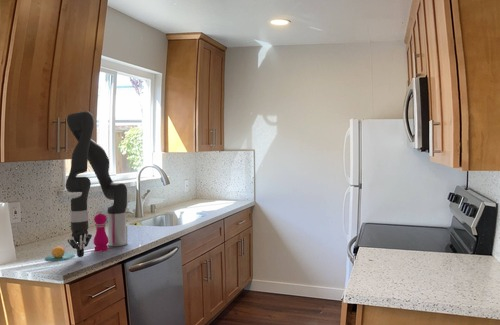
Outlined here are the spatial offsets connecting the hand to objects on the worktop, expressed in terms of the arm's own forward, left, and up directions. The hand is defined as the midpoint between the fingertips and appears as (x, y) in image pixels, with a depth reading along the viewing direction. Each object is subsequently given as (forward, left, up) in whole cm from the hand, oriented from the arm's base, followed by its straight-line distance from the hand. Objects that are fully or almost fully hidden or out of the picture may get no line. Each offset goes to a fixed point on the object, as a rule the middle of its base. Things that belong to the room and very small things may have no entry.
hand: (80, 256), depth 191 cm
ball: (+1, -13, +1) cm, 13 cm away
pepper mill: (-18, -4, -2) cm, 19 cm away
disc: (0, -13, -2) cm, 13 cm away
